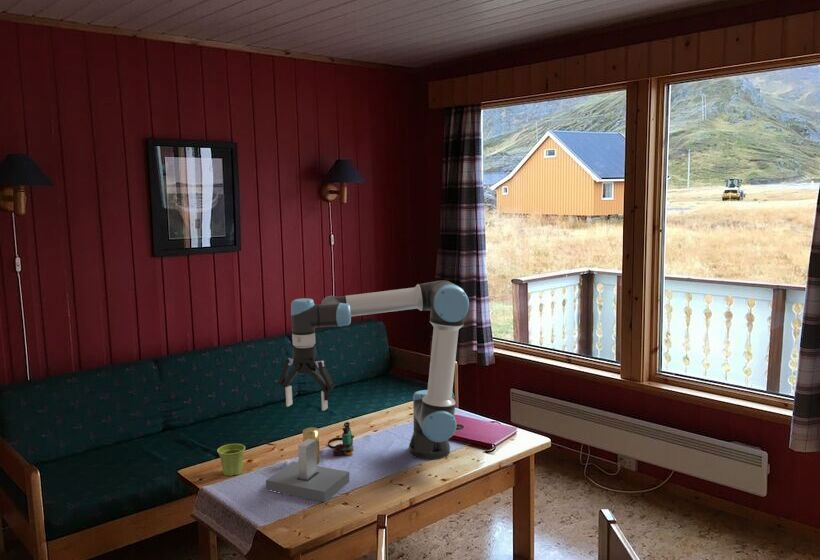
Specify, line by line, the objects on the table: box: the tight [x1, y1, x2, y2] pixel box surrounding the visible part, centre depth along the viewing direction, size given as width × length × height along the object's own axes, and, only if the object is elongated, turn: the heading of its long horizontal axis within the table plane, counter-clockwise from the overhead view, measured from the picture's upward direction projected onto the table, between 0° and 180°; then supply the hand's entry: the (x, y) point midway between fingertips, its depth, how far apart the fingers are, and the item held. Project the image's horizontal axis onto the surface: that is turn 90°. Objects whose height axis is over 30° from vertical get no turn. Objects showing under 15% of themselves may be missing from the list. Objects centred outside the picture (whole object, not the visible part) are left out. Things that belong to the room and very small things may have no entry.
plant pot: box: [216, 443, 246, 477], centre depth 235 cm, size 9×9×9 cm
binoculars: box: [327, 421, 355, 456], centre depth 252 cm, size 9×11×10 cm
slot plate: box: [265, 461, 350, 503], centre depth 224 cm, size 22×16×4 cm
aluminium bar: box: [297, 439, 318, 482], centre depth 223 cm, size 3×6×15 cm, turn 156°
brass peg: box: [302, 426, 321, 465], centre depth 242 cm, size 6×6×12 cm
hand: (306, 407), depth 229 cm, fingers open, 13 cm apart
